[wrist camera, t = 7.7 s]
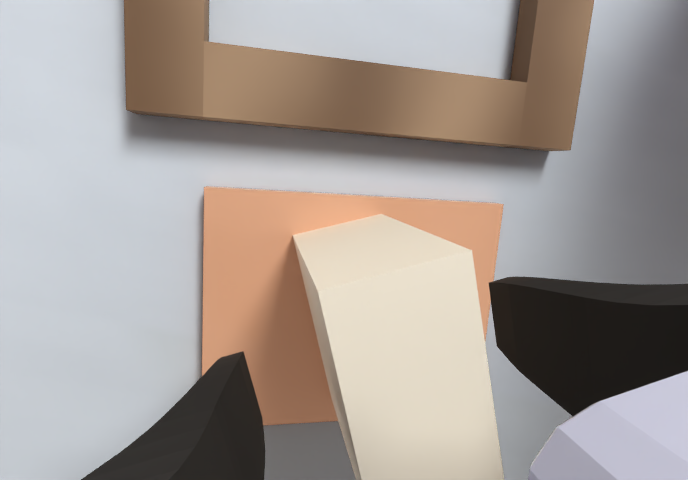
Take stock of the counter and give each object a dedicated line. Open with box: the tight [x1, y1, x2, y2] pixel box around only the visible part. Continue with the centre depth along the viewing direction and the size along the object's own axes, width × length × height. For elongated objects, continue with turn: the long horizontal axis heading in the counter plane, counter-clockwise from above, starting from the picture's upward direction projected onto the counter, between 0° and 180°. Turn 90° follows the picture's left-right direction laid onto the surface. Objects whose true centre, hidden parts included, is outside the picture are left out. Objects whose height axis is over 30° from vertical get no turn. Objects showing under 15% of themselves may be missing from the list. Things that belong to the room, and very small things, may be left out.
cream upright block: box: [293, 214, 504, 480], centre depth 11 cm, size 3×6×6 cm, turn 11°
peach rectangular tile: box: [202, 186, 504, 425], centre depth 14 cm, size 10×8×1 cm
